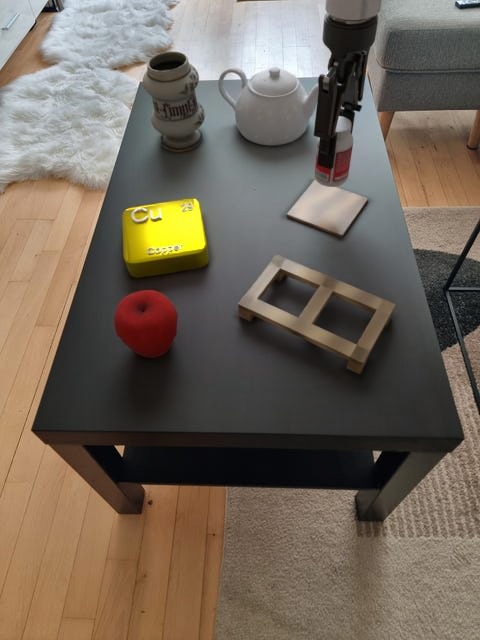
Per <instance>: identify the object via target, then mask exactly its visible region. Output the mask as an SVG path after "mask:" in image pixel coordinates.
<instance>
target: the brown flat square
mask: <svg viewBox="0 0 480 640" xmlns="http://www.w3.org/2000/svg"><path fill="white" fill-rule="evenodd" d="M368 201H369V197H366V196H363V195H361V194H357V193H355V192H351V191H348V190H346V189H343V188H340V187H338V186H336V187H327V186H324V185H321V184H320V183H318V182H317V180H316V179H314V180H313V181H312V182H311V184H310V185H309V186H308V187H307V188H306V190H305V191H304V192H303V193H302V195H301V196H300V197H299V198H298V199H297V201H295V203H294V205H293V206H292V207H291V208H290V209H289V210H288V212H287V213H286V217H287V218H289V219H291V220H295V221H297V222H300V223H303V224H305V225H308V226H310V227H314V228H316V229H319V230H321V231H323V232H327V233H329V234H332V235H334V236H337V237H339V238H343V236H345V234H346V233H347V231H349V229H350V227H351V226H352V224H353V222H354V221H355V220H356V218H357V217H358V215H360V213H361V211H362V210H363V208H364V207H365V206H366V204H367V202H368Z"/></svg>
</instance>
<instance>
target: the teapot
mask: <svg viewBox="0 0 480 640" xmlns="http://www.w3.org/2000/svg"><path fill="white" fill-rule="evenodd" d="M231 73H233V74H236V75H237V76H238V77H239V78H240V79H241V90H240V92H239V93H238V94H239V95H238V96H237V99H236V100H234V99H233V98H232V97H231V96H230V95H229V94H228V92H227V91H226V89H225V86H224V80H225V78H226V76H227V75H228V74H231ZM218 78H219V79H218V80H217V81H218V82H217V86H218V91H219V94H220V95H221V97H222V98H223V99H224V100H225V102H227V103H228V105H230V107H231V108H232V109H233V111H234V118H235V123H236V127H237V129H238V131H239V132H240V134H241V135H242V136H243V137H244V138H245V139H247V140H248V141H250V142H251V143H254V144H257V145H263V146H281V145H286V144H289V143H292V142H293V141H296V140H298V139H299V138H300V137H302V135H304V133H305V132H306V130H307V128H308V126H309V123H310V119H311V118H312V116H313V115H314V113H315V112H316V109H317V101H318V92H319V88H318V83H316V84H315V85H314V86H312V89H311V90H310V92H309V93H308V92H307V90H306V88H305V87H304V85H303V84H302V83H301V82H300V80H299V78H298V77H297V76H296V75H295V74H293V73H291V72H289V71H288V70H285V69H282V68H279V67H278V66H272V67H270V68H267V69H263V70H262V71H260V72H257V73H255V74H253V75H251V77H250V78H249V79H248V77H247V75H246V73H245V72H244V70H243V69H241V68H239V67H237V66H229V67H227V68H225V69H224V70H223V71H222V72H221V74H220V75H219V77H218Z"/></svg>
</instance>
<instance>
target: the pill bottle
mask: <svg viewBox="0 0 480 640" xmlns="http://www.w3.org/2000/svg"><path fill="white" fill-rule="evenodd" d="M350 132H351V121H350V120H349V119H348V118H346V117H342V116H339V118H338V122H337V127H336V131H335V133H336V134H337V141H336V149H335V157H334V165H333V168H332V169H328V168H325V167H322V166H319V165H317V163H318V152H319V142H320V138H319V137H317V141H316V153H315V154H316V155H315V167H314V178H315V180H317V182H318V183H320V184H321V185H324V186H327V187H339V186H340V187H341V186H342V185H343V184H345V183H346V182H347V181H348V178H349V174H350V168H351V161H352V154H353V147H354V136H353V133H352V134H351V133H350Z"/></svg>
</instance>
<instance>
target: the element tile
mask: <svg viewBox="0 0 480 640" xmlns="http://www.w3.org/2000/svg"><path fill="white" fill-rule="evenodd" d="M121 218H122V221H121V222H122V223H121V224H122V247H123V248H122V249H123V250H122V251H123V259H124V263H125V265H126V266H125V267H126V269H127V271H128V273H129V275H130V276H131V277H133V278H137V279H141V278H149V277H153V276H160V275H167V274H172V273H178V272H185V271H192V270H197V269H201V268H204V267H206V266H207V265H208V264H209V261H210V254H209V248H208V241H207V236H206V230H205V225H204V220H203V212H202V208H201V203H200V202H199V200H197V199H196V198H184V199H176V200H170V201H163V202H158V203H157V202H156V203H151V204H143V205H138V206H132V207H129V208H127V209H125V210H124V211H123V213H122V216H121Z"/></svg>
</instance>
